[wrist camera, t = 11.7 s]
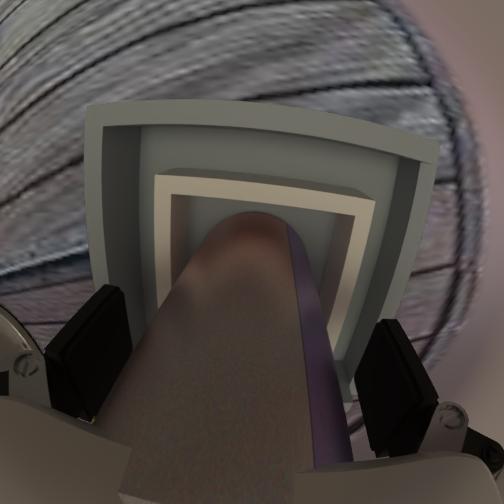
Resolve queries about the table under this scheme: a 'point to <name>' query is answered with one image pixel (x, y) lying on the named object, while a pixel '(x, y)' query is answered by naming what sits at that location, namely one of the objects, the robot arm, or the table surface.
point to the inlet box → (257, 202)
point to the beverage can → (231, 377)
